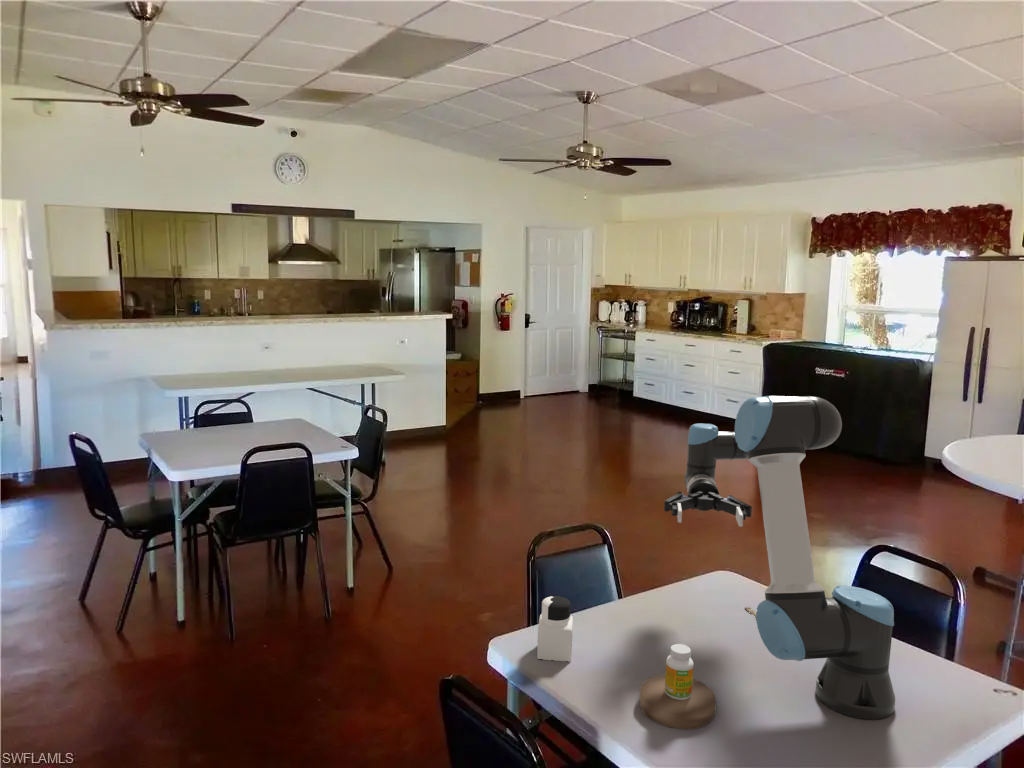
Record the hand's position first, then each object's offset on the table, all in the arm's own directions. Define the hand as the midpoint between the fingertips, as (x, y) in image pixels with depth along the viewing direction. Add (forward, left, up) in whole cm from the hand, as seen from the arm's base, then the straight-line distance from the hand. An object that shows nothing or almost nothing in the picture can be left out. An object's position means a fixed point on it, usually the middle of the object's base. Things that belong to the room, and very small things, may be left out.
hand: (710, 519), depth 175 cm
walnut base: (-13, +23, -32) cm, 41 cm away
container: (+18, +30, -32) cm, 47 cm away
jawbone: (-2, -27, -33) cm, 43 cm away
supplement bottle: (-13, +23, -29) cm, 39 cm away
